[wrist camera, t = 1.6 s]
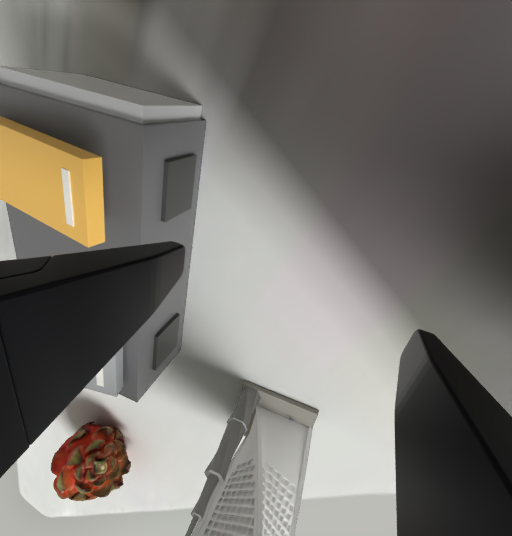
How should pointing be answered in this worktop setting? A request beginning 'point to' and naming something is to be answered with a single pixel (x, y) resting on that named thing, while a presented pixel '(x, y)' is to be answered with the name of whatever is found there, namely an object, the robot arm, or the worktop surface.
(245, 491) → the skyscraper
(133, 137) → the grey switch box
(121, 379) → the rocker outlet
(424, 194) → the worktop surface
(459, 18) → the worktop surface
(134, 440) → the worktop surface
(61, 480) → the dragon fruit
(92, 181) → the rocker outlet
